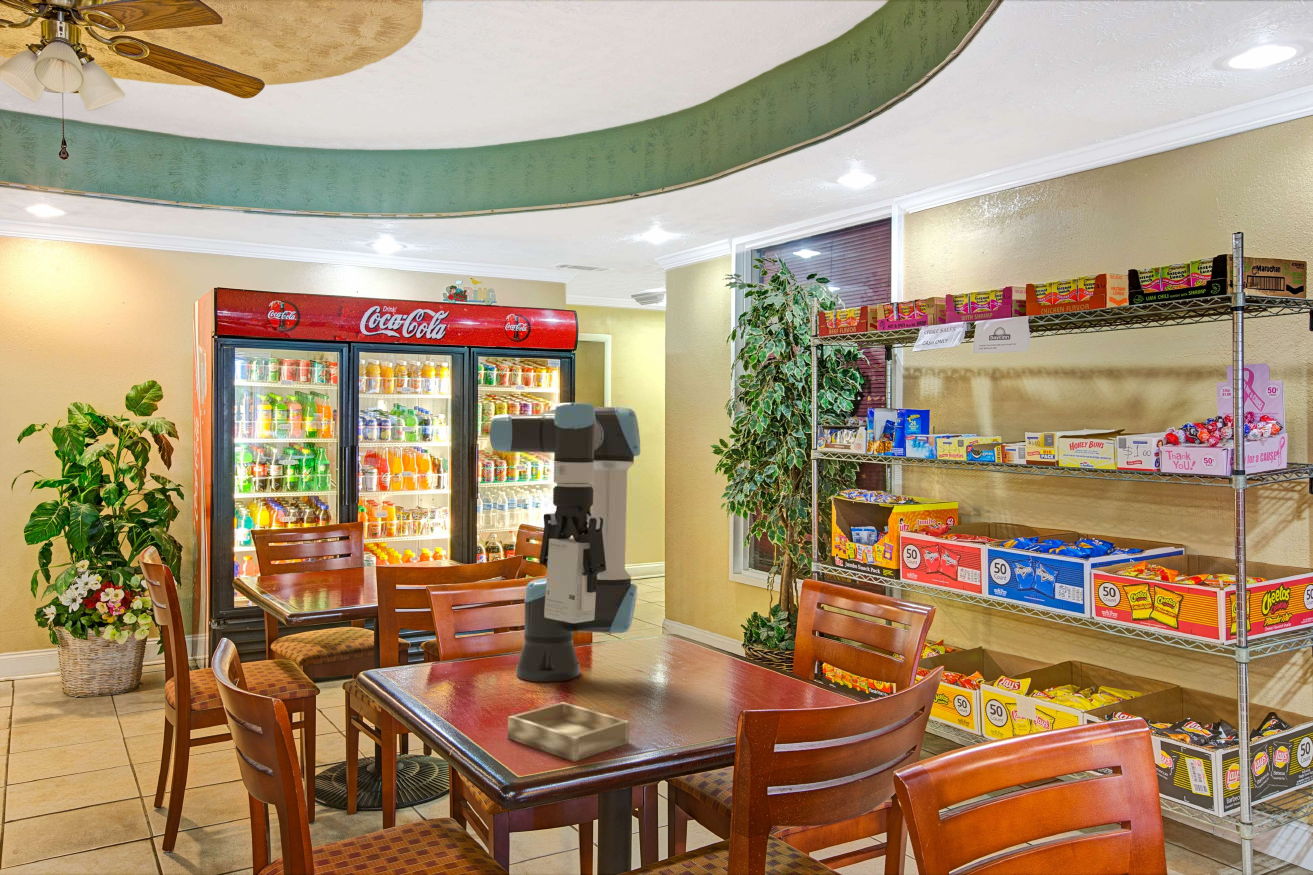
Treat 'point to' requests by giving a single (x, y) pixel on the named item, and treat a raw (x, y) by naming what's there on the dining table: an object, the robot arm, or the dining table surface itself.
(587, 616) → the skincare box
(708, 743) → the dining table surface
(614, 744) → the tray
